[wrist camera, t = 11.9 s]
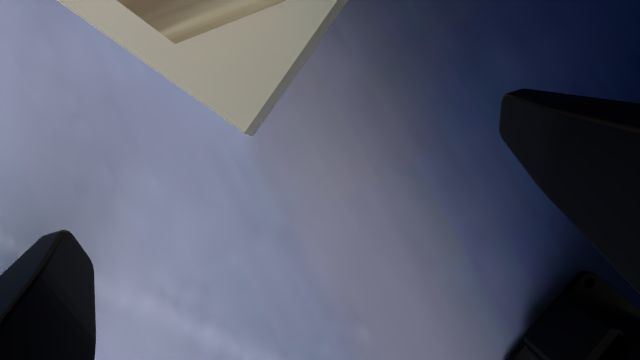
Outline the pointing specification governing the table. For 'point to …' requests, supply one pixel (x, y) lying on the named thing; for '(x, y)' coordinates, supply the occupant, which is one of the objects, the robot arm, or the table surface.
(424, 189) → the table surface
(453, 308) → the table surface
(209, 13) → the ash post
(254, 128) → the cream square slab
